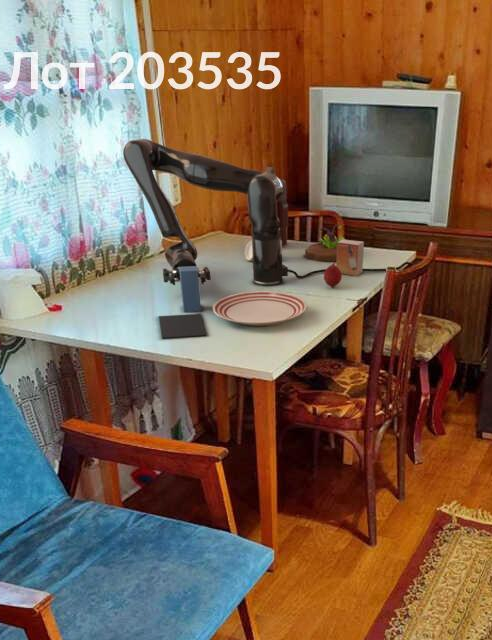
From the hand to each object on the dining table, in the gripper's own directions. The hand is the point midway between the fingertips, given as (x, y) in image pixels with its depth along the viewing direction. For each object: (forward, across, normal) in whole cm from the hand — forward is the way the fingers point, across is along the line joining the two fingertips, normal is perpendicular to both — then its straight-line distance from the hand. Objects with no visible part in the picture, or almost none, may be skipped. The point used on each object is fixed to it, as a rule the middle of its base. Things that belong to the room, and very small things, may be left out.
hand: (188, 281), depth 222 cm
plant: (-50, +57, +7) cm, 76 cm away
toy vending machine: (-68, +38, +7) cm, 78 cm away
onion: (-10, +47, +7) cm, 49 cm away
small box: (-26, +57, +7) cm, 63 cm away
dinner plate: (+15, +19, +7) cm, 25 cm away
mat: (+20, -4, +7) cm, 21 cm away
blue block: (+5, 0, +7) cm, 8 cm away
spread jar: (-48, +30, +7) cm, 57 cm away
